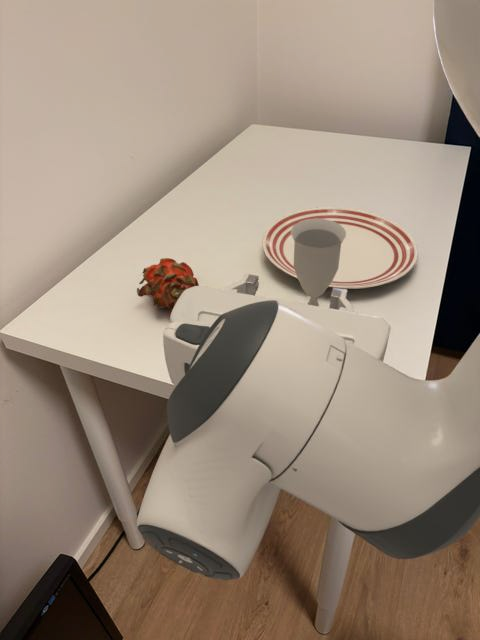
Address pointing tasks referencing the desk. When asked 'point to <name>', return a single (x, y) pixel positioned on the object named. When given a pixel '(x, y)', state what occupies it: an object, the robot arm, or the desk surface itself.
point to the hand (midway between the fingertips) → (295, 286)
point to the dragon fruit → (167, 282)
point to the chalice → (316, 254)
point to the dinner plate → (349, 246)
